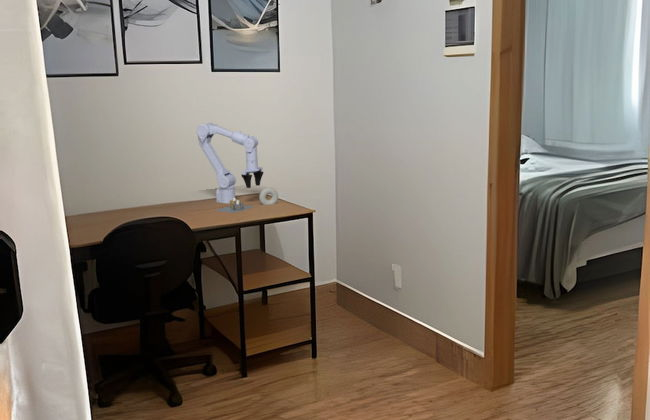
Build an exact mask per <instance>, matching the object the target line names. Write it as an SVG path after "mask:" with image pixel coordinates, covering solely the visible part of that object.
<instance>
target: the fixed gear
mask: <svg viewBox="0 0 650 420" xmlns="http://www.w3.org/2000/svg"><path fill="white" fill-rule="evenodd" d="M243 205H244V203H243V202H241V203H239V204H236V203H233V204H232V208H233V210H237V211H238V210H243V209H244V206H245V205H244V206H243ZM243 211H244V210H243Z"/></svg>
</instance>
